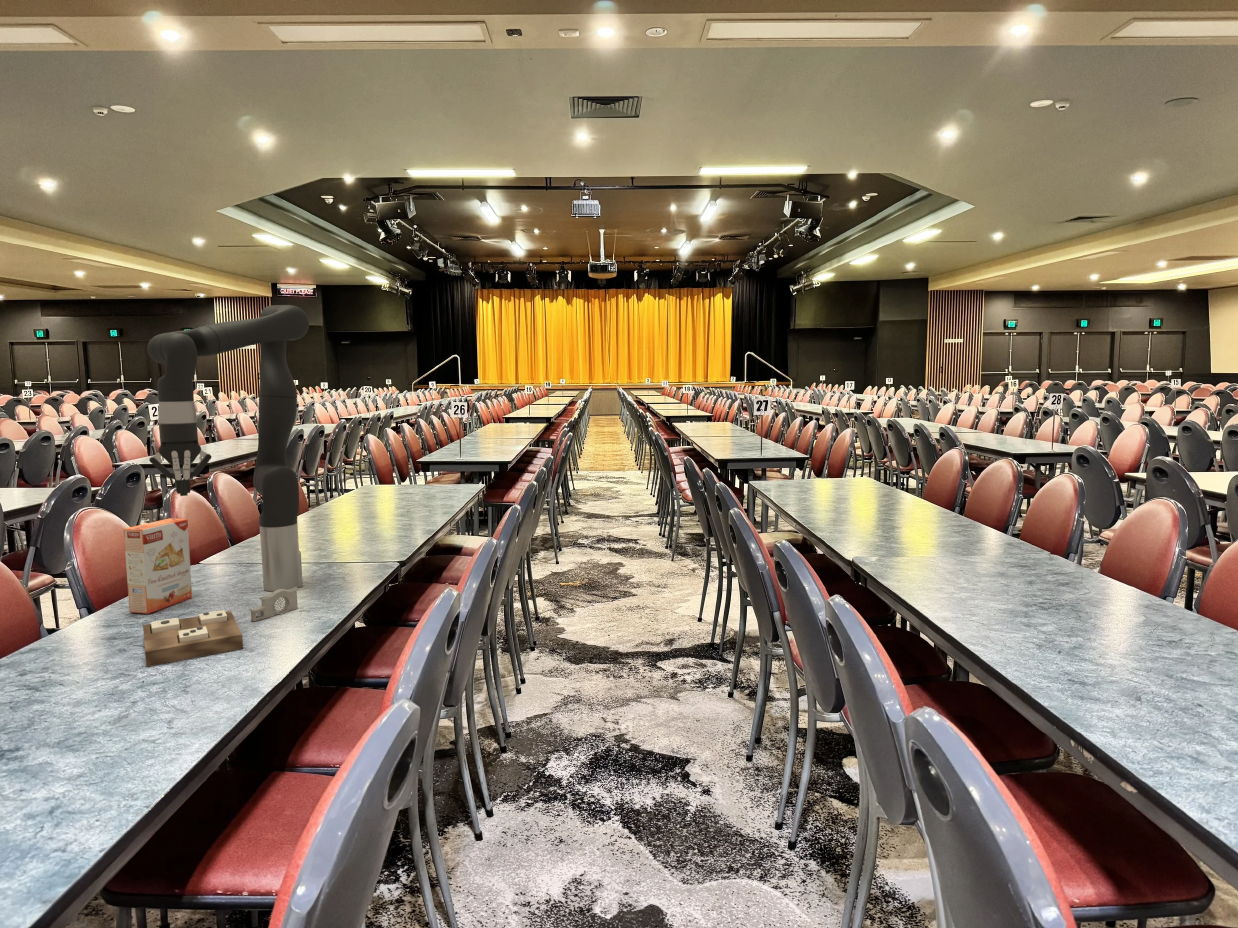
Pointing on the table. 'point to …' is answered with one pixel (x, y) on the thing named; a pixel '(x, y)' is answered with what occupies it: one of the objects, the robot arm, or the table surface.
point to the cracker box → (157, 565)
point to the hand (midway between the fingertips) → (183, 495)
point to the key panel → (169, 649)
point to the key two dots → (212, 617)
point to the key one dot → (165, 625)
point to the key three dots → (193, 634)
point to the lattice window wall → (269, 604)
